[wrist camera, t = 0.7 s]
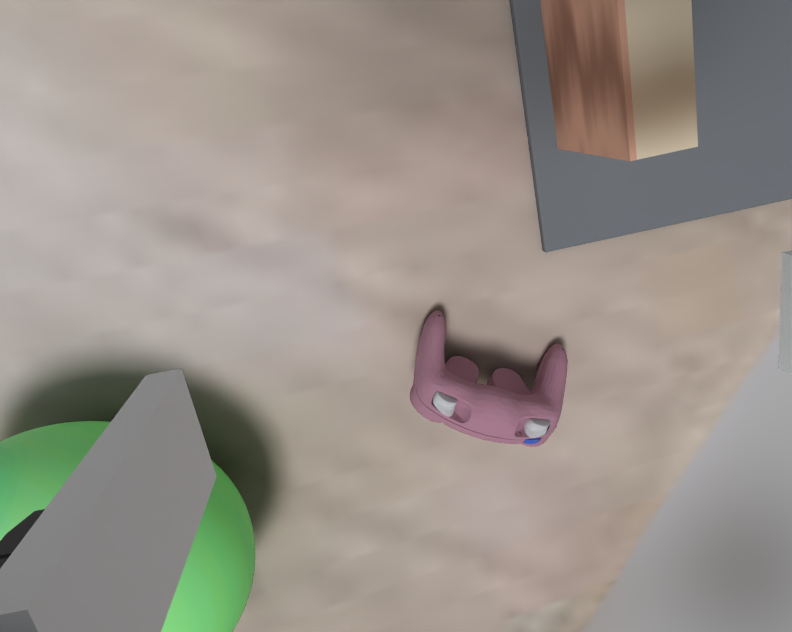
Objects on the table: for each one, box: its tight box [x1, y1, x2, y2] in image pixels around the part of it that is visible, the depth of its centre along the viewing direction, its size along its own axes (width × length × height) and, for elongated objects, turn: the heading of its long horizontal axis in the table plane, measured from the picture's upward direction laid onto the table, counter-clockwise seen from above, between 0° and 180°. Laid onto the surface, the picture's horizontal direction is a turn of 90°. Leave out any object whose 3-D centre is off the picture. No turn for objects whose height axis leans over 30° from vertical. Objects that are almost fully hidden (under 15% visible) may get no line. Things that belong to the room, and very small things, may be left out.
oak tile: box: [540, 0, 698, 161], centre depth 30 cm, size 8×3×10 cm, turn 12°
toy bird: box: [0, 421, 255, 632], centre depth 35 cm, size 18×17×15 cm
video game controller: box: [410, 311, 568, 447], centre depth 38 cm, size 10×5×7 cm, turn 73°
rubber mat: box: [510, 0, 792, 252], centre depth 35 cm, size 20×17×1 cm
